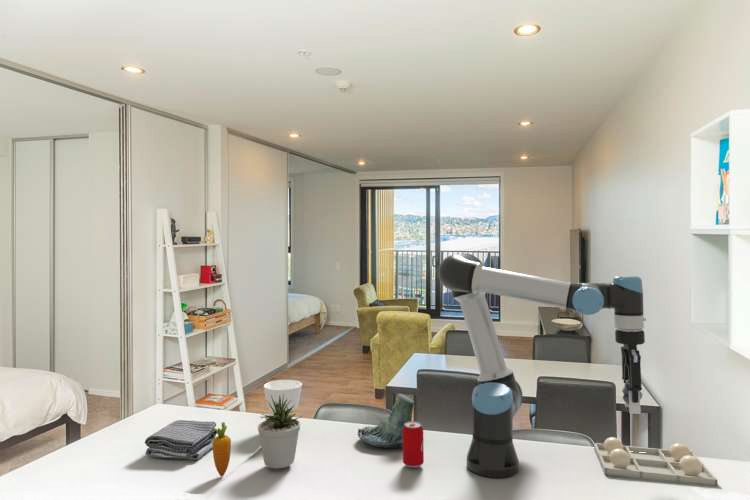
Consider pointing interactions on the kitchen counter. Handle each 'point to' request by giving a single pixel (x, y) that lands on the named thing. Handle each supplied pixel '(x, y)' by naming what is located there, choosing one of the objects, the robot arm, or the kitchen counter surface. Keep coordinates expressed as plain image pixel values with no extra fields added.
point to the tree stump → (390, 425)
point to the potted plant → (279, 436)
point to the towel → (182, 440)
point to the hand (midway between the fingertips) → (632, 409)
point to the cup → (283, 386)
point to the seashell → (626, 393)
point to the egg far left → (612, 444)
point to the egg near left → (619, 458)
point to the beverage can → (413, 444)
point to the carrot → (221, 450)
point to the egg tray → (652, 466)
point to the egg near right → (690, 465)
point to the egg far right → (678, 451)
